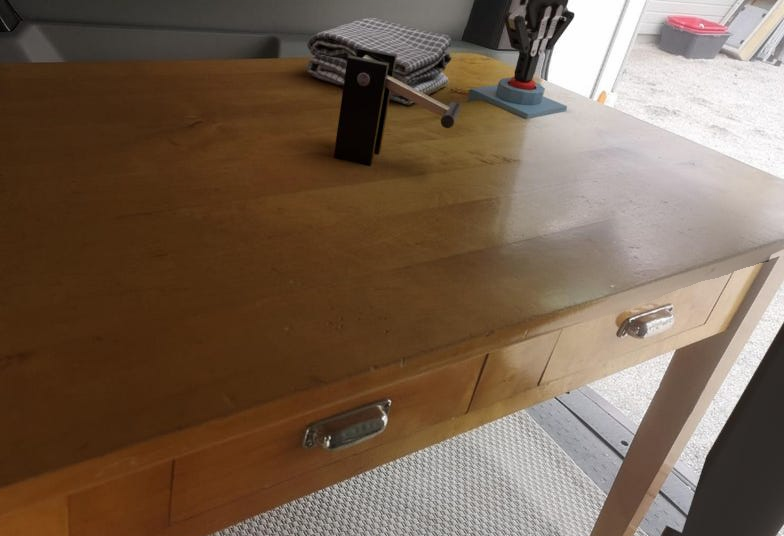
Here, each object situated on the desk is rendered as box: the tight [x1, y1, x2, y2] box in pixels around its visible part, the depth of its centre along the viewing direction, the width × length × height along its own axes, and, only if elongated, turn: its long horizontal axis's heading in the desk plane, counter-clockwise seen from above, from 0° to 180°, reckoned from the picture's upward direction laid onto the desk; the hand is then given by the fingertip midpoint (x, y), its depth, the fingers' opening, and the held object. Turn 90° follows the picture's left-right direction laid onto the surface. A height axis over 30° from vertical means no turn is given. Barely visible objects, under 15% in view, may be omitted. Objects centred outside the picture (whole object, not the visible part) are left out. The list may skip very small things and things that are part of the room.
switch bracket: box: [333, 47, 397, 167], centre depth 86 cm, size 12×9×13 cm
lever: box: [363, 55, 462, 129], centre depth 84 cm, size 12×5×2 cm, turn 72°
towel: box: [305, 17, 452, 106], centre depth 115 cm, size 15×18×8 cm
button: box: [509, 76, 536, 90], centre depth 111 cm, size 4×4×2 cm
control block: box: [467, 77, 568, 120], centre depth 112 cm, size 11×9×4 cm
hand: (522, 80), depth 110 cm, fingers closed
